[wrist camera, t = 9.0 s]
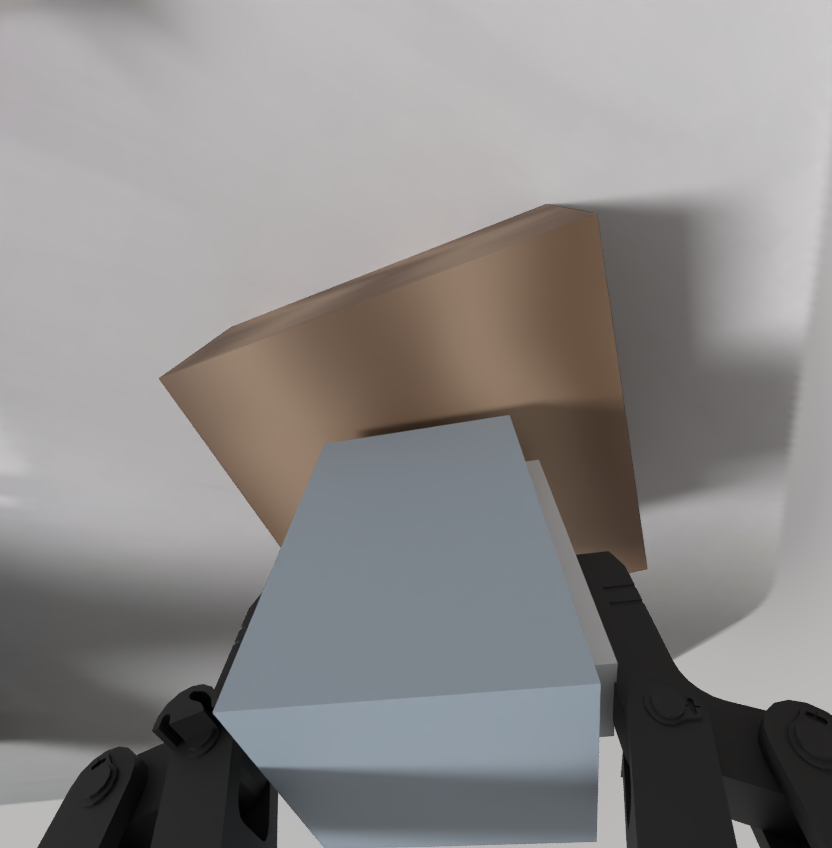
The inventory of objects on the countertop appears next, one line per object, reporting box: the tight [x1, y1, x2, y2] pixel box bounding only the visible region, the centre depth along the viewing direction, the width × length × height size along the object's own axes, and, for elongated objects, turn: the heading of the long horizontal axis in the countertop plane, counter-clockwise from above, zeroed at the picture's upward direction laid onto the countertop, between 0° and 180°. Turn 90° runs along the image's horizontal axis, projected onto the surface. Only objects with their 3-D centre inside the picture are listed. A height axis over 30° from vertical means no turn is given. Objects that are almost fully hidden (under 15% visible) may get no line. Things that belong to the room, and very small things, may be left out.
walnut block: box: [159, 204, 647, 573], centre depth 18 cm, size 14×14×6 cm
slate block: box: [213, 415, 601, 848], centre depth 11 cm, size 6×6×8 cm
